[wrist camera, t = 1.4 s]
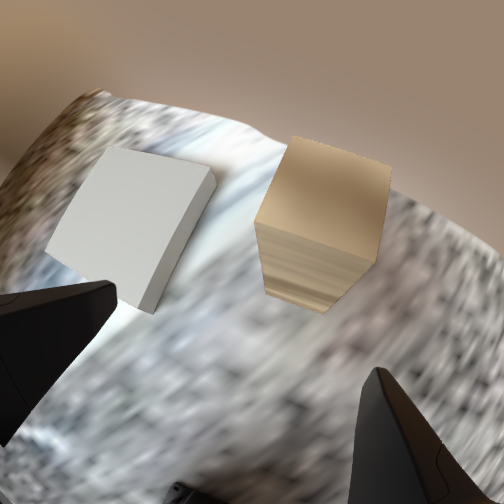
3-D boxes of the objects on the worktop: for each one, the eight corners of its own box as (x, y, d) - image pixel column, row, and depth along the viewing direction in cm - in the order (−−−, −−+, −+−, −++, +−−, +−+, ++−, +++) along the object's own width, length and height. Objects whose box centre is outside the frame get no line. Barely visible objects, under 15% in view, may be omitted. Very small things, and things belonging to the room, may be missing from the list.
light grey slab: (152, 314, 23) (137, 308, 20) (61, 260, 26) (44, 251, 23) (217, 185, 27) (211, 166, 25) (119, 161, 30) (108, 146, 27)
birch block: (322, 314, 22) (375, 262, 10) (265, 294, 23) (254, 220, 11) (339, 260, 23) (392, 167, 11) (286, 241, 24) (292, 135, 12)
